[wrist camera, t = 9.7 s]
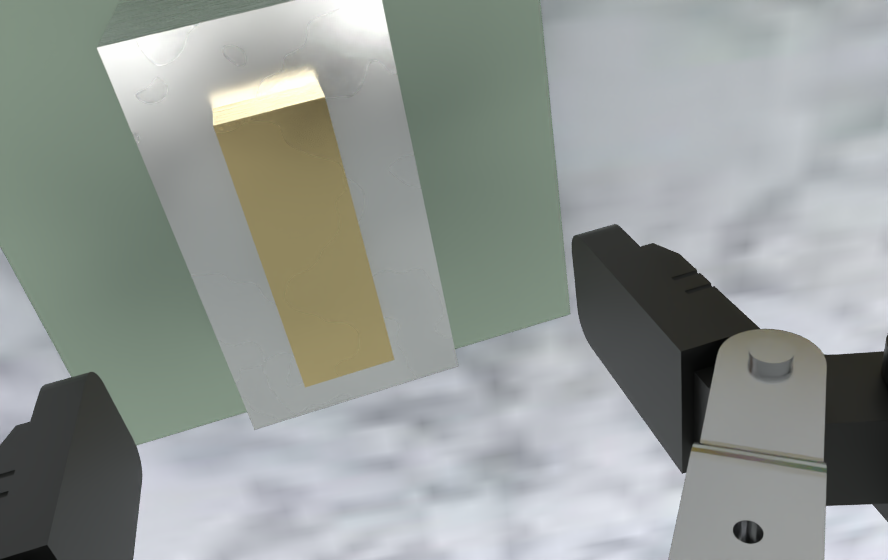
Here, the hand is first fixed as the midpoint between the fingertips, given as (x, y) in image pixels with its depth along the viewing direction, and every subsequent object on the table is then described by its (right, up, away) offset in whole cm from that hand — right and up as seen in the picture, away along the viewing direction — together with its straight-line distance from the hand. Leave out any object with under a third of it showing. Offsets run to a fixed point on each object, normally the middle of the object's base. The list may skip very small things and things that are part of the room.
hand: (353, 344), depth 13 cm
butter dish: (-2, +4, +6) cm, 8 cm away
